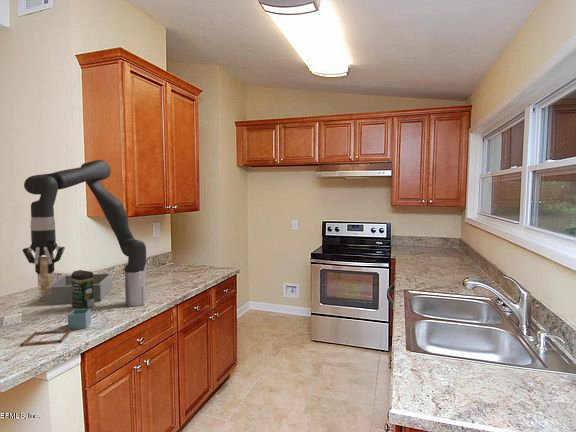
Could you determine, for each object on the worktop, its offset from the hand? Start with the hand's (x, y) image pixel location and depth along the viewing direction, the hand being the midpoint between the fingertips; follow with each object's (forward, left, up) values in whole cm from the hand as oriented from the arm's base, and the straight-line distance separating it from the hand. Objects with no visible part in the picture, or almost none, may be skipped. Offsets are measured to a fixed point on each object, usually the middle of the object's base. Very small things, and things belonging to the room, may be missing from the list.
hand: (45, 273), depth 130 cm
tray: (0, 0, -26) cm, 26 cm away
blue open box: (-8, -10, -26) cm, 29 cm away
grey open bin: (+6, -59, -26) cm, 65 cm away
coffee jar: (-1, -38, -27) cm, 47 cm away
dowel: (0, 0, -8) cm, 8 cm away
